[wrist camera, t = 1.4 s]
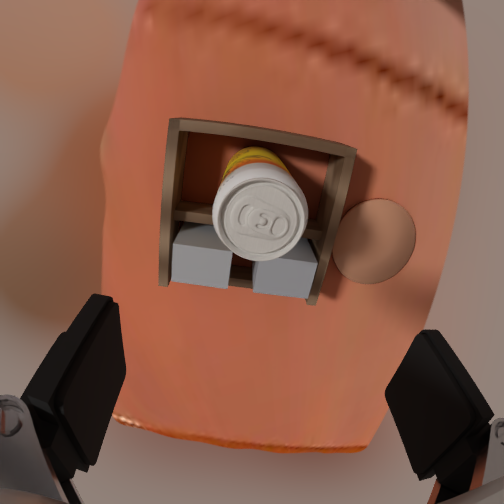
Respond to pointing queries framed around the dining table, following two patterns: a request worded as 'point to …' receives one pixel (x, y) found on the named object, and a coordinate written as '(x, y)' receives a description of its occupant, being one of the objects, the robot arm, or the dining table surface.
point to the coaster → (373, 241)
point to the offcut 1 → (200, 256)
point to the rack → (178, 210)
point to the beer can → (259, 206)
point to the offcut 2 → (286, 272)
